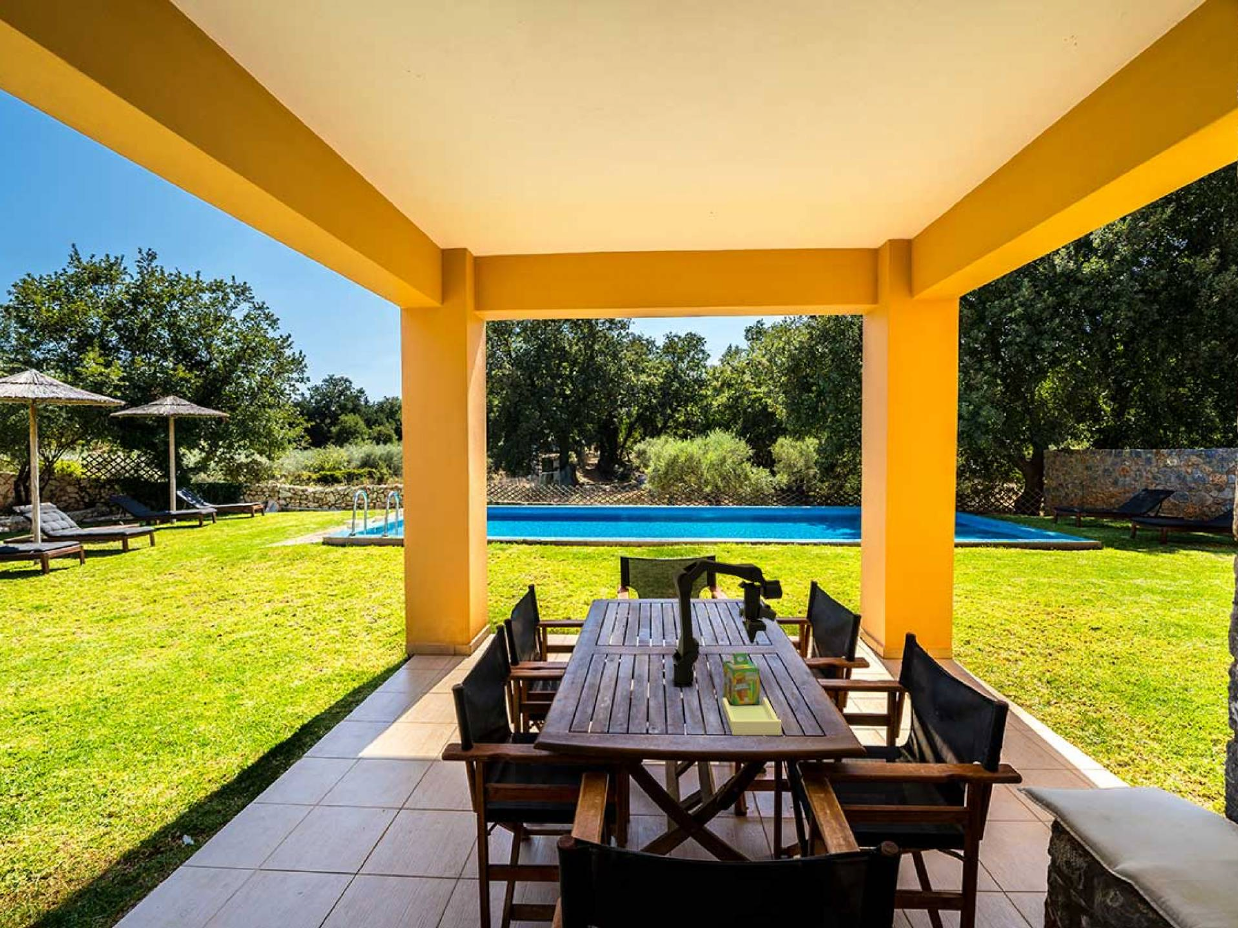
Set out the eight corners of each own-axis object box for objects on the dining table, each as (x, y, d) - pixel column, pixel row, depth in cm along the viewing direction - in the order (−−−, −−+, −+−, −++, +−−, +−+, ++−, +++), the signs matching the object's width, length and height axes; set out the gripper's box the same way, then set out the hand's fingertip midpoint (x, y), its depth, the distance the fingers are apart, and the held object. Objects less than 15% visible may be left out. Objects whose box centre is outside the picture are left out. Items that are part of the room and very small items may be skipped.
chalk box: (733, 706, 187) (733, 659, 187) (723, 695, 196) (722, 650, 196) (760, 703, 189) (760, 657, 189) (748, 693, 198) (748, 649, 198)
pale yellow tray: (732, 734, 170) (732, 721, 170) (722, 706, 188) (722, 694, 188) (781, 734, 170) (781, 721, 169) (766, 706, 188) (766, 694, 188)
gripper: (781, 607, 200) (781, 652, 201) (768, 593, 219) (768, 634, 219) (748, 607, 200) (748, 652, 201) (738, 593, 219) (738, 634, 219)
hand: (751, 643), depth 210 cm, fingers closed
